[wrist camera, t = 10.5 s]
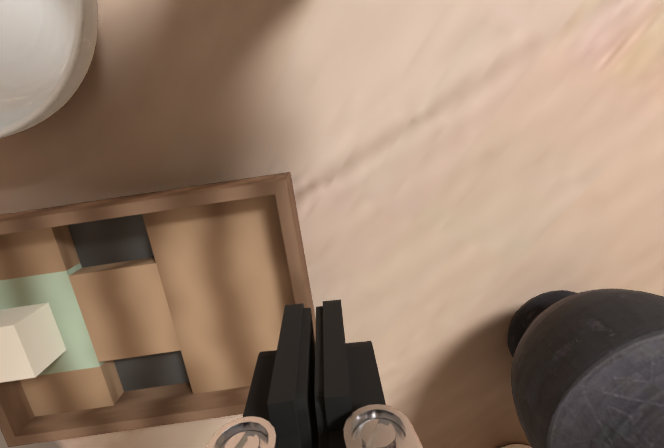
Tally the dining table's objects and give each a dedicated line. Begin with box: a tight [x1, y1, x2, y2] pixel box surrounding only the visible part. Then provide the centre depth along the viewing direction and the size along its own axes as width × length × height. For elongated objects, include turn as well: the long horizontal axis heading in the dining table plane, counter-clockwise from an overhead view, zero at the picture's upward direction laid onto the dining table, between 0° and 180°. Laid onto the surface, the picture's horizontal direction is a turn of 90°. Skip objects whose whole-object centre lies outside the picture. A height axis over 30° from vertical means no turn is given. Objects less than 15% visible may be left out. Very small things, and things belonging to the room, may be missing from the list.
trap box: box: [0, 172, 316, 447], centre depth 35 cm, size 30×21×5 cm
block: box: [0, 303, 66, 383], centre depth 33 cm, size 5×5×4 cm
